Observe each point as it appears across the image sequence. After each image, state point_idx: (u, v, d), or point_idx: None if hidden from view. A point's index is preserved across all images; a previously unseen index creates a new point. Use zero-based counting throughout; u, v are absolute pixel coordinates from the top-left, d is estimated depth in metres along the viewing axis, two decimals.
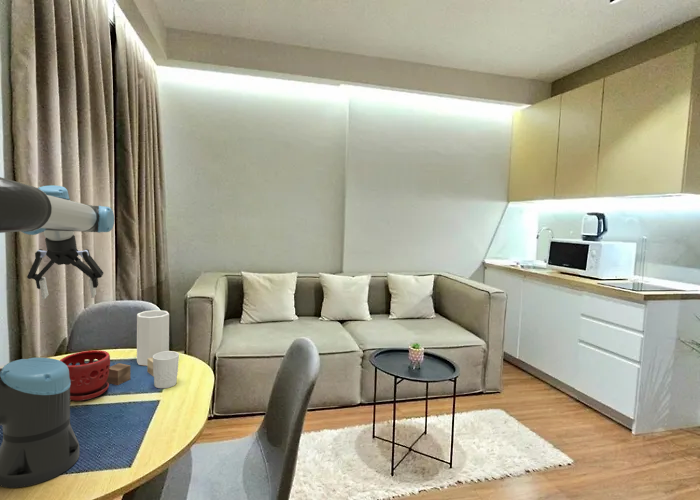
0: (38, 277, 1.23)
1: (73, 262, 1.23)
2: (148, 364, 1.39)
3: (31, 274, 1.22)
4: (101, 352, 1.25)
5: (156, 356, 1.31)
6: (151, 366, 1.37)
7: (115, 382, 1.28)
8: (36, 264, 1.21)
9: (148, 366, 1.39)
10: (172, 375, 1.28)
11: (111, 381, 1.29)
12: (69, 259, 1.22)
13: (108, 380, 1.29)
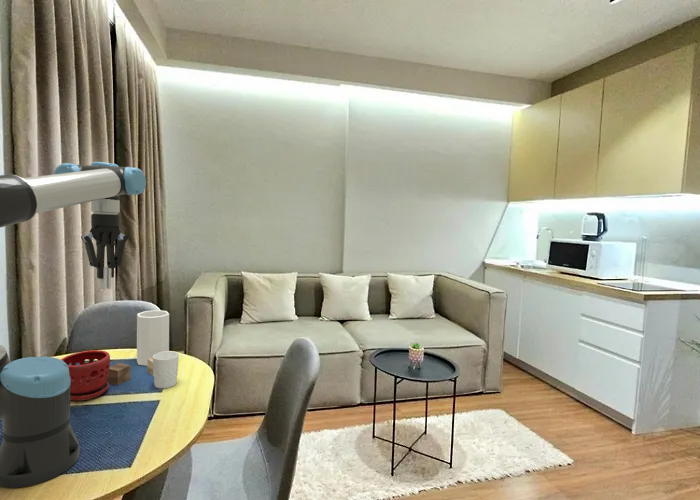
0: (102, 264, 1.20)
1: (113, 242, 1.22)
2: (148, 364, 1.39)
3: (95, 261, 1.19)
4: (101, 352, 1.25)
5: (156, 356, 1.31)
6: (151, 366, 1.37)
7: (115, 382, 1.28)
8: (93, 249, 1.18)
9: (148, 366, 1.39)
10: (172, 375, 1.28)
11: (111, 381, 1.29)
12: (113, 237, 1.22)
13: (108, 380, 1.29)
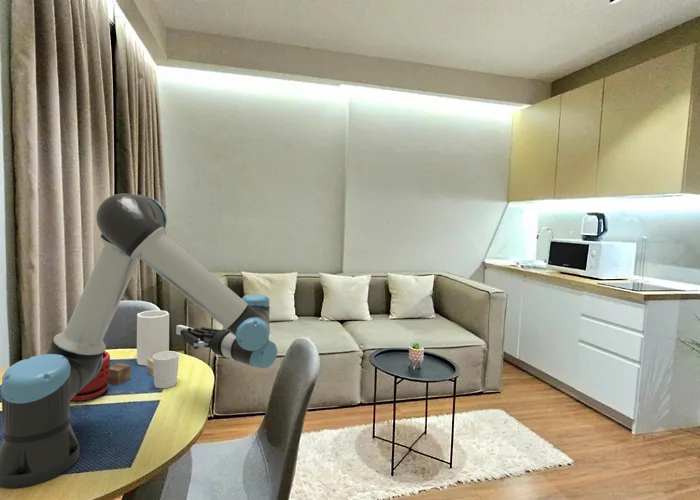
0: (197, 329, 1.22)
1: (205, 334, 1.16)
2: (148, 364, 1.39)
3: (205, 328, 1.23)
4: None
5: (156, 356, 1.31)
6: (151, 366, 1.37)
7: (115, 382, 1.28)
8: (215, 330, 1.22)
9: (148, 366, 1.39)
10: (172, 375, 1.28)
11: (111, 381, 1.29)
12: (208, 334, 1.16)
13: (108, 380, 1.29)
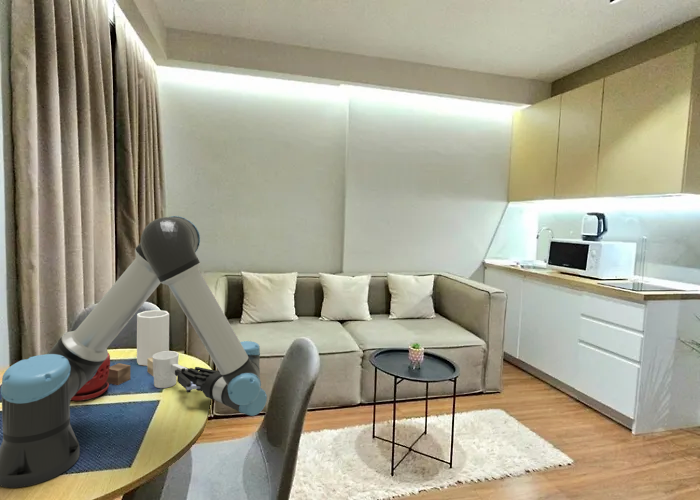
0: (191, 369, 1.25)
1: (198, 376, 1.19)
2: (148, 364, 1.39)
3: (199, 368, 1.26)
4: None
5: (156, 356, 1.31)
6: (151, 366, 1.37)
7: (115, 382, 1.28)
8: (209, 370, 1.25)
9: (148, 366, 1.39)
10: (172, 375, 1.28)
11: (111, 381, 1.29)
12: (201, 377, 1.18)
13: (108, 380, 1.29)
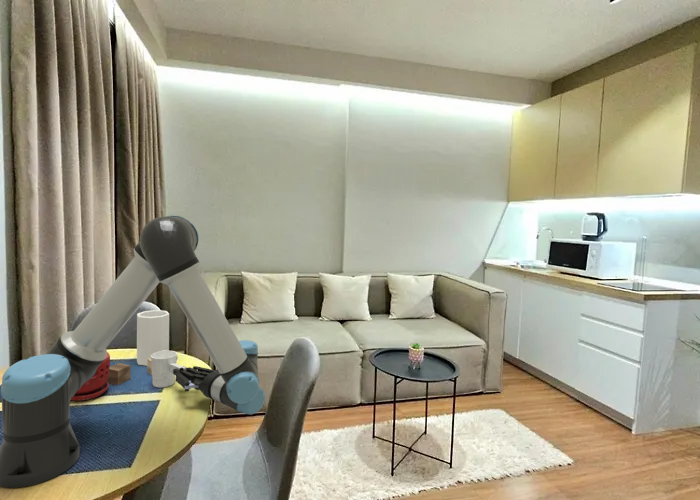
0: (190, 368, 1.25)
1: (196, 375, 1.19)
2: (148, 364, 1.39)
3: (197, 367, 1.26)
4: None
5: (154, 355, 1.31)
6: None
7: (115, 382, 1.28)
8: (207, 369, 1.25)
9: (148, 366, 1.39)
10: (170, 374, 1.29)
11: (111, 381, 1.29)
12: (199, 376, 1.19)
13: (108, 380, 1.29)
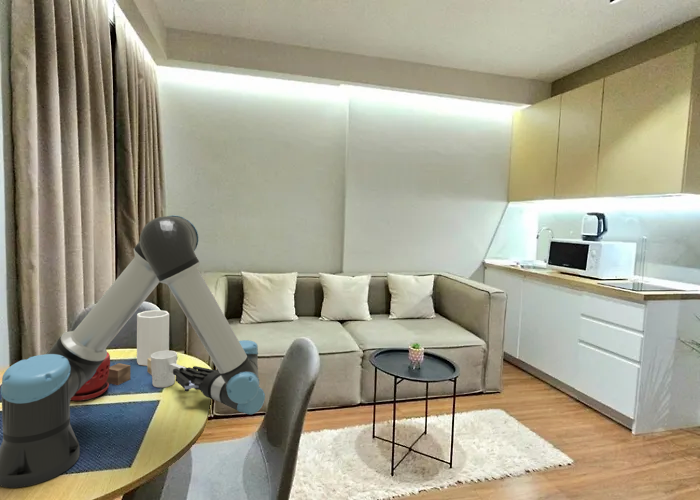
0: (190, 368, 1.25)
1: (196, 375, 1.19)
2: (148, 364, 1.39)
3: (197, 367, 1.26)
4: None
5: (154, 355, 1.31)
6: None
7: (115, 382, 1.28)
8: (207, 369, 1.25)
9: (148, 366, 1.39)
10: (170, 374, 1.29)
11: (111, 381, 1.29)
12: (199, 376, 1.19)
13: (108, 380, 1.29)
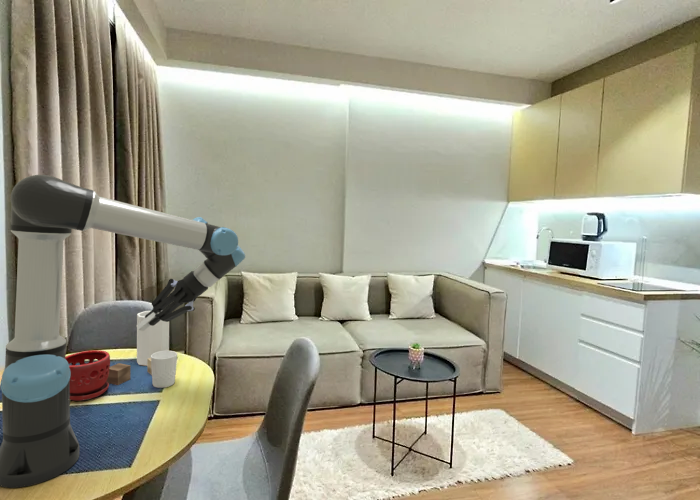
0: (156, 308, 1.21)
1: (177, 300, 1.20)
2: (148, 364, 1.39)
3: (156, 301, 1.21)
4: (101, 352, 1.25)
5: (155, 355, 1.31)
6: None
7: (115, 382, 1.28)
8: (164, 291, 1.22)
9: (148, 366, 1.39)
10: (170, 374, 1.29)
11: (111, 381, 1.29)
12: (181, 297, 1.20)
13: (108, 380, 1.29)
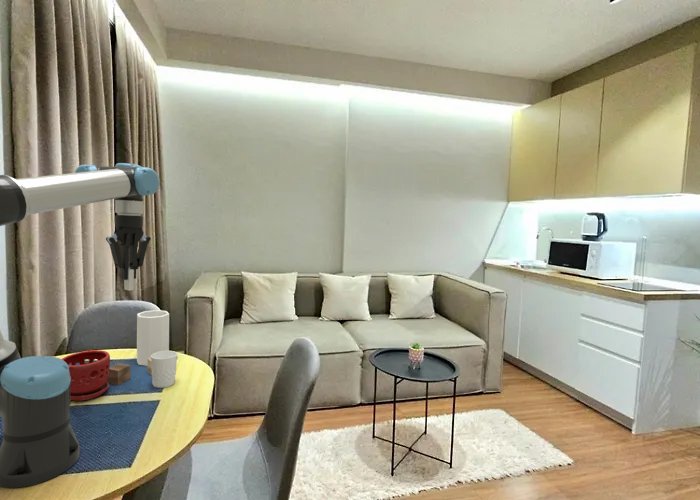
0: (127, 265, 1.21)
1: (136, 243, 1.22)
2: (148, 364, 1.39)
3: (120, 262, 1.19)
4: (101, 352, 1.25)
5: (155, 355, 1.31)
6: None
7: (115, 382, 1.28)
8: (118, 250, 1.18)
9: (148, 366, 1.39)
10: (170, 374, 1.29)
11: (111, 381, 1.29)
12: (137, 239, 1.22)
13: (108, 380, 1.29)
